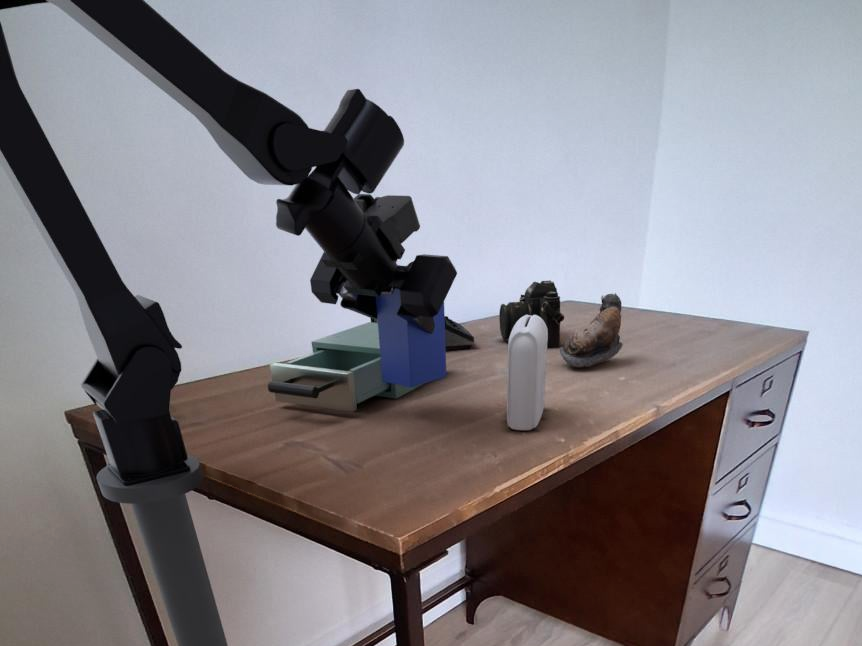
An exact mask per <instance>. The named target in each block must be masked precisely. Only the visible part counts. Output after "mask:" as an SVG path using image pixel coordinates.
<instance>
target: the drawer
mask: <svg viewBox="0 0 862 646" xmlns="http://www.w3.org/2000/svg"><path fill="white" fill-rule="evenodd" d="M269 369H270V375H271V380H270V381H269V382H268V384H267V391H268V392H269V393H272V394H274V397H275V401H276V402H279V403H287V404H293V405H301V406H306V407H307V406H308V407H314V408H315V407H316V408H322V409H329V410H336V411H342V412H343V411H344V412H351V413H352V412H355V411H356V410H358V408H357V404H360V403H362V402H364V401H366V400H368V399H370V398H372V397H374V395H376V394H378V393H380V392H382V391H384V390H386V389H388V388H390V387H391V383H386V382H383V381H382V369H381V357H380V354H372V353H363V352H353V351H343V350H334V349H323V350H320V351H317V352H314V353H313V352H311V353H309V354H306V355H303V356H301V357H298V358H295V359H292V360H289V361H287V362H285V363H282V362H281V363H280V362H273V363H271V364H269Z"/></svg>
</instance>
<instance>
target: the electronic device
mask: <svg viewBox="0 0 862 646" xmlns="http://www.w3.org/2000/svg"><path fill="white" fill-rule="evenodd" d="M369 318H370V317H369ZM370 322H372V323H378V321H377V320H375V319H372V318H370ZM474 343H475V337H474V336H473V335H472V334H471V332H470V331H468V329H466V328H465V327H464V326H463V325H462V324H461V323H458V322H456V321H454V320H453V319H451V318H449V316H447V315H445V347H446V351H449V350H459V349H469V348H471V347H472V346H473V345H474Z"/></svg>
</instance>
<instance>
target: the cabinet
mask: <svg viewBox="0 0 862 646" xmlns="http://www.w3.org/2000/svg"><path fill="white" fill-rule="evenodd" d="M311 349H312V353H314V352H317V351H320V350H323V349H334V350H343V351H353V352H363V353H372V354H380V345H379V333H378V323H372V322H371V321H370V322H368V321H367V322H366V323H363V324H359V325H356V326H353V327H351V328H348V329H345V330H341V331H339V332H336V333H333V334H330V335H326V336H323V337H321V338H318V339H315V340H312V341H311ZM425 384H426V383H424V384H421V385H417V386H414V387H407V386H402V385H396V384H391V387H390V388H388V389H386V390H384V391H382V392H380V393H378V394H376V395H374V396H375V397H380V398H381V397H382V398H388V399H399V398H400V397H402V396H404V395H406V394H408V393H410V392H412V391H414V390H416V389H417V388H419V387H421V386H423V385H425ZM374 396H373V397H374Z"/></svg>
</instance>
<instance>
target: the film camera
mask: <svg viewBox="0 0 862 646" xmlns="http://www.w3.org/2000/svg"><path fill="white" fill-rule="evenodd" d="M525 315H530V316H533V315H537V316H539V317H541V318H542V319H543V321H544V322H545V324H546V327H547V330H548V341H547V348H551V347H554V348H555V347H559V346H560V341H561V324H562V323H561V322H563V321H564V320H565V315H564V314H563V313H562V311H561V296H559V292H558V289H557V287H556V285H555V282H554V281H552V280H551V279H549V280H541V281H540V282H537V281H533V282H532V283H531V284H530V285H529V286H528V287H527V288H526V289H525V292H524V294H520V297H519V301H509V302H508V303H507V304H505V303H502V304H500V307H499V318H498V319H499V320H498V321H499V331H500V335H501V339H502V341H508V340H509V337H510V334H511V331H512V329H513V327H514V325H515V324H516V322H517V321H518V320H519V319H520V318H521V317H523V316H525Z"/></svg>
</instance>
